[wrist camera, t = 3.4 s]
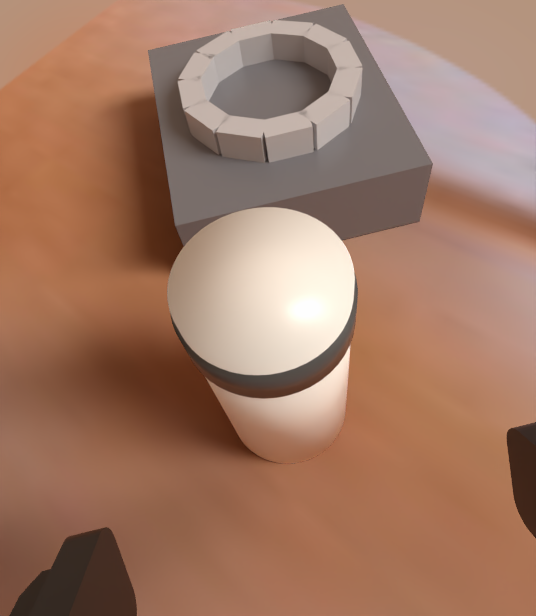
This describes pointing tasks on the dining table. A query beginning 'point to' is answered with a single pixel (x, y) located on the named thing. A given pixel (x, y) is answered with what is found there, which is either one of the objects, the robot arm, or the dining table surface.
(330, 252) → the domed cylinder with band
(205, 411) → the dining table surface
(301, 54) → the square base with ring
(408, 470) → the dining table surface
